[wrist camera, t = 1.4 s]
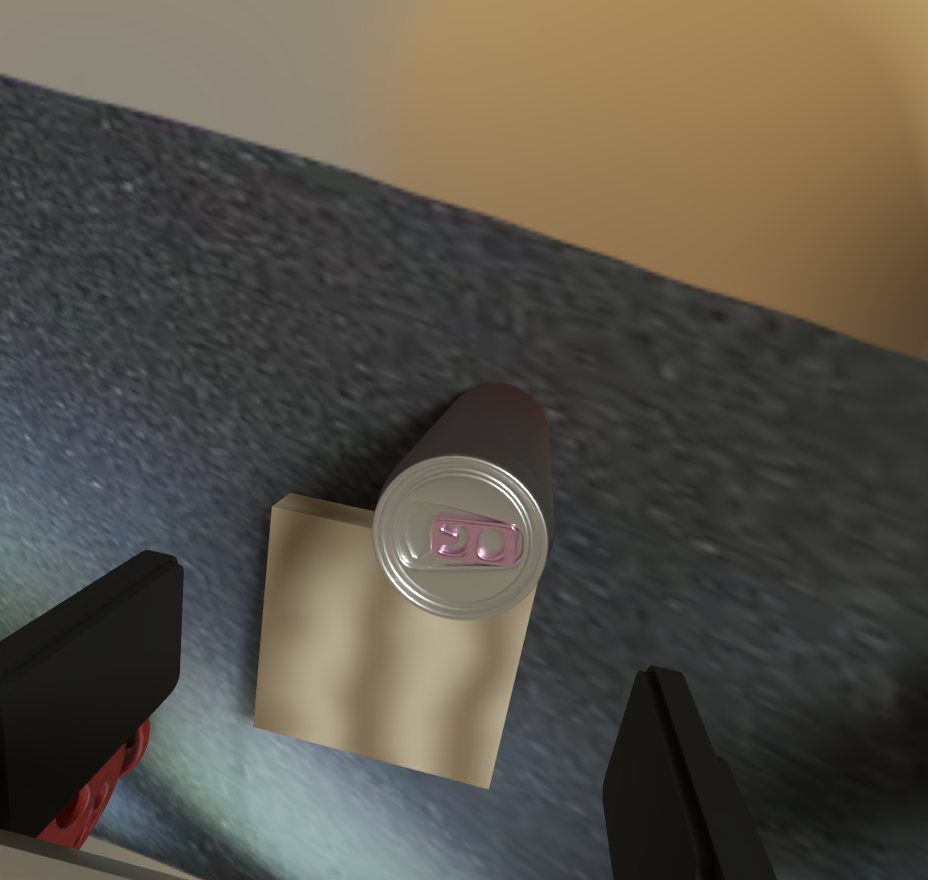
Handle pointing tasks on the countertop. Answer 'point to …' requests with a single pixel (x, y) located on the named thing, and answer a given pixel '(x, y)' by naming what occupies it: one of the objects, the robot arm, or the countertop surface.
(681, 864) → the robot arm
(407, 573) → the beverage can
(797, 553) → the countertop surface
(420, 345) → the countertop surface
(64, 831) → the plant pot
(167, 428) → the countertop surface
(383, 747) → the birch board
